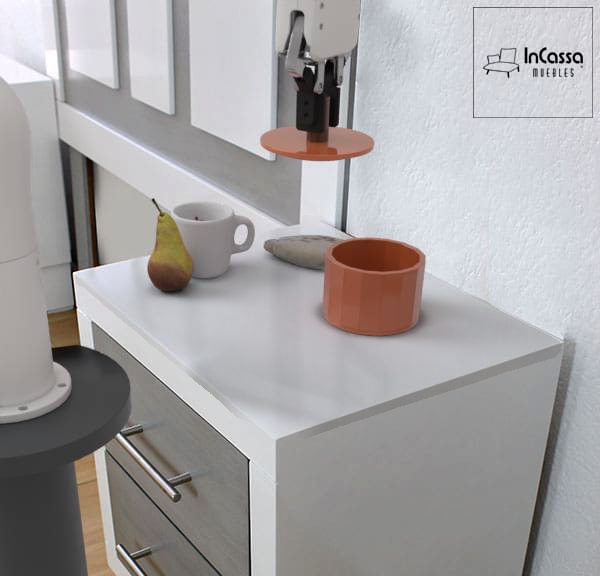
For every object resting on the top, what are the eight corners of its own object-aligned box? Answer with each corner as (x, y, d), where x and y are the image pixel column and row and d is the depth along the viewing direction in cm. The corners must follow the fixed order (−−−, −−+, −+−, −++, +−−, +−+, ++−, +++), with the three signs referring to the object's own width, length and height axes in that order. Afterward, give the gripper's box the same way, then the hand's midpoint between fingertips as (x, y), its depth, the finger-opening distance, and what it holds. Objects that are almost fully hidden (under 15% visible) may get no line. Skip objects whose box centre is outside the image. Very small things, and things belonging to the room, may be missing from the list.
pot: (394, 344, 101) (401, 281, 97) (305, 320, 105) (308, 259, 101) (433, 309, 109) (440, 250, 105) (349, 288, 114) (353, 231, 110)
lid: (342, 173, 90) (345, 114, 86) (238, 153, 94) (237, 97, 91) (392, 146, 99) (396, 92, 95) (295, 129, 103) (296, 78, 100)
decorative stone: (270, 247, 125) (271, 224, 123) (379, 263, 121) (381, 239, 119) (255, 263, 120) (256, 238, 118) (368, 279, 116) (370, 254, 114)
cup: (244, 255, 122) (244, 197, 117) (263, 277, 116) (264, 216, 111) (166, 263, 118) (163, 203, 114) (182, 286, 112) (179, 224, 108)
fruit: (199, 295, 110) (197, 198, 104) (153, 300, 108) (147, 201, 102) (189, 278, 114) (185, 184, 108) (144, 282, 113) (138, 187, 106)
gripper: (328, -78, 93) (321, 109, 103) (246, -71, 81) (247, 139, 91) (395, -74, 90) (381, 118, 100) (320, -66, 78) (312, 151, 88)
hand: (317, 126), depth 95 cm, fingers closed on lid, 2 cm apart
